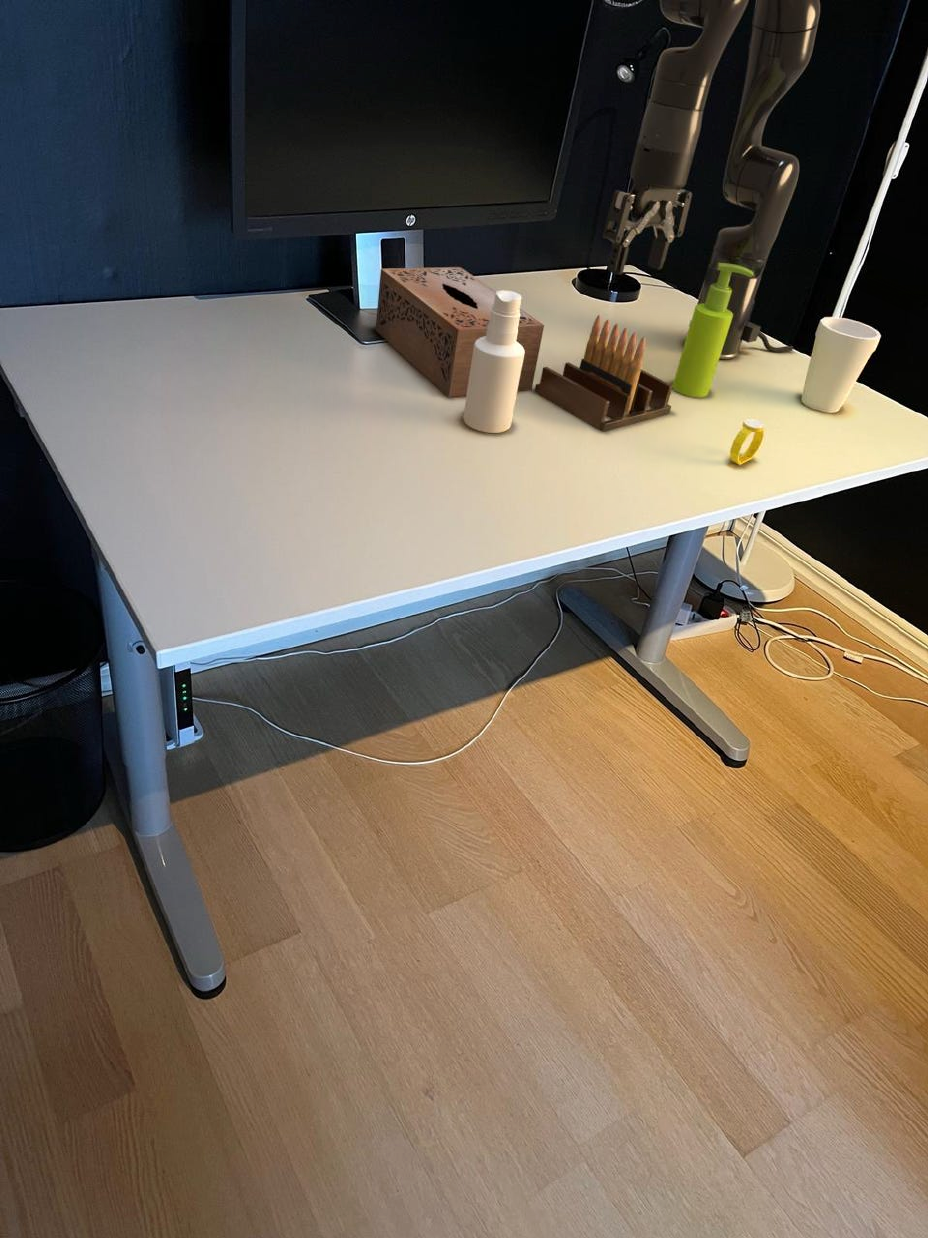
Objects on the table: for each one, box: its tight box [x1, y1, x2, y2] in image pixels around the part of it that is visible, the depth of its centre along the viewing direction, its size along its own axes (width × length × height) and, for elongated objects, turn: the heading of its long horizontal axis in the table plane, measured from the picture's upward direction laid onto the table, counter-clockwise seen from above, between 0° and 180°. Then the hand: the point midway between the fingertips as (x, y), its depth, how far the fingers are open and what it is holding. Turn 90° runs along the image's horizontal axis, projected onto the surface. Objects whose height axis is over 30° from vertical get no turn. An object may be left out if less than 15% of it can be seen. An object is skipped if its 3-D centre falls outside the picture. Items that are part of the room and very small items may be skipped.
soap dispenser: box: [672, 263, 754, 398], centre depth 146 cm, size 6×7×20 cm
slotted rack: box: [533, 362, 673, 432], centre depth 141 cm, size 15×15×4 cm
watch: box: [729, 418, 765, 466], centre depth 131 cm, size 6×3×6 cm, turn 133°
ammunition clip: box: [579, 314, 646, 415], centre depth 139 cm, size 11×2×12 cm, turn 40°
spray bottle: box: [462, 289, 525, 434], centre depth 125 cm, size 7×7×18 cm
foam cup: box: [800, 316, 882, 414], centre depth 151 cm, size 10×9×13 cm
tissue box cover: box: [375, 266, 545, 398], centre depth 144 cm, size 26×14×10 cm, turn 29°
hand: (634, 270), depth 130 cm, fingers open, 8 cm apart
